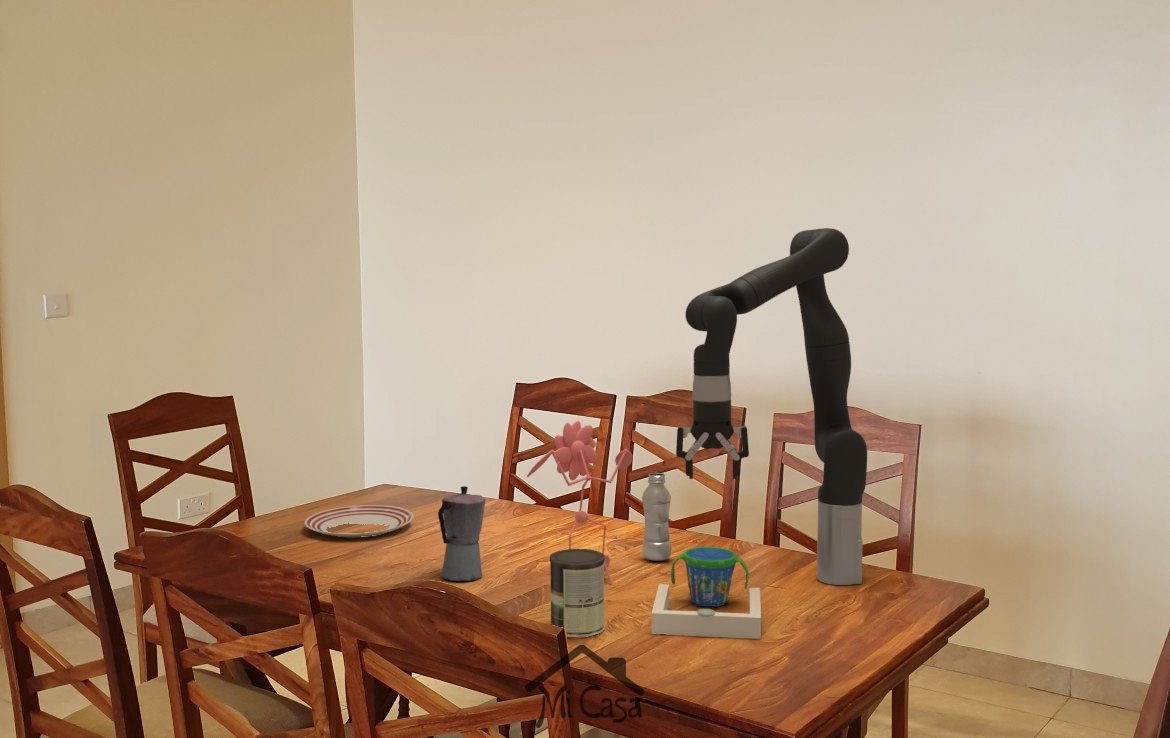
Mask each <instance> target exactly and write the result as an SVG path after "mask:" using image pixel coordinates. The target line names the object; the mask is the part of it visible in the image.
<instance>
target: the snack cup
mask: <svg viewBox="0 0 1170 738" xmlns="http://www.w3.org/2000/svg"><path fill="white" fill-rule="evenodd" d="M680 560H683V561H684V563H685V569H686V576H687V583H688V589H689V598H690V601H692V603H694V604H695V605H697V606H699V607H717V608H718V607H720V606H724V605H725V604H727V603H728V601H729V596H730V591H731V585H732V578H733V574H734V571H735V567H736V564H737V563H740V564H741V567H742V568H743V570H744V571H745V583H744V590H747V587H748V585H749V577H750V575H749V574H750V573H749V568H748V566H747V564H746V562H745V561H744V559H742V558H741V557H739V556H738V555H737V554H736V552H734V551H733V550H730V549H726V548H722V547H718V546H717V547H716V546H700V547H699V546H698V547H691V548H689V549H688V548H687V549H686V550H685V551H684V552H682V553H681V554H679V555H678V556H676V558H674V560H673V562H672V564H671V568H670V581H671V584H672V585H674V586H675V584H676V577H675V575H676V574H675V567H676V566H675V565H676V563H677V562H678V561H680Z"/></svg>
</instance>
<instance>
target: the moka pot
mask: <svg viewBox="0 0 1170 738" xmlns="http://www.w3.org/2000/svg"><path fill="white" fill-rule="evenodd" d="M468 488H469V487H468V486H466V485H465V486H460V492H461V493H458V494H451V495H446V496H445V497H443V498H442V500H441V502H442V504H441V507H440V508H439V509H438V512H437V516H438V520H439V526H440V531H441V537H442V543H444V544H445V553H444V558H443V563H442V569H441V577H442V578H443V579H446V580H449V581H456V582H466V581H475V580H479V579H480V578H482V577H483V571H482V562H481V551H480V543H479V542H480V535H481V532H482V529H483V527H482V526H483V519H484V513H485V507H486V506H485V504H486V498H485V497H483V496H482V495H480V494H471V493H470V494H469V493H468Z"/></svg>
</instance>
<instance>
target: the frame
mask: <svg viewBox="0 0 1170 738" xmlns="http://www.w3.org/2000/svg"><path fill="white" fill-rule="evenodd" d="M669 606H670V584H666V583H658V587H657V592H656V594H655V598H654V603H653V607H652V610H651V615H650V616H651V619H650V620H651V629H650V630H651V631H650V632H651V635H660V634H666V635H665V636H682V635H683V636H685V637H705V638H706V637H709V638H710V637H711V638H728V639H729V638H732V639H750V640H761V639H762V637H761V636H762V613H761V612H762V611H761V610H762V609H761V588H760V587H749V611H748V612H749V613H739V612H737V613H736V612H717V611H715V610H713V609H712V608H711V609H710V608H701V609H698V610H696V611H694V610H693V611H692V610H669Z"/></svg>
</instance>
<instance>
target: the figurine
mask: <svg viewBox="0 0 1170 738" xmlns="http://www.w3.org/2000/svg"><path fill="white" fill-rule="evenodd" d="M593 430H594V429H593V426H592V425H590V424H587V425H583V427H582V424H581V421H580V420H576V421H574V422H573V423H572V425H571V424H570V423H569V422H565V423H564V426H563V429H562V435H559V434H556V435H555V436H554V445H555V448H556V450H554V449H551V450H550V451H548V452H547V453H546V454H545V455H543V456H542V457H541V458H540V459H539V460H537V462H536V463H535V464H534V465H533V467H532V468H531V469H530V470H529V472H528V474H527V475H526V477H527V478H529V477H530V476H531V475H533V474H534V473H535V472H537V471H538V470H539V469H540V468H541V467H542V466H543V464H544V463H546V461H548V460H549V458H550V457H551V456H552V457H553V458H554V461H555V463H556V465H557V467H556V472H557V474H561V475H562V477H563V479H564V480H565V483H566V484H567V486H568V487H569V486H573V485H575V484H578V483H580V482H584V483H583V484H582V486H581V493H580V499H579V500H580V501H579V502H580V503H579V509H578V510H579V511H577V512H576V514H575V515H574V518H575V521H574V523H573V526H572V529H571V530H570V532H569V535H568V549H572V548H571V546H572V545H571V544H572V537H571V536H572V534H573V532H574V530H575V527H576V525H577V523H578V524H580V525H582V524H585V523H587V522H588V521H589V522H591V523H594V524H597V525H599V526H602V527H603V535H602V536H603V537H602V550H601V553H602V554H604V556H605V560H604V572H606V575H607V579H608V582H609V584H610V585H613V584H614V583H613V580H612V577H611V575H610V571H609V565H610V562H611V558H610V557H609V555H608V554H605V544H606V543H605V542H606V529H607V527H606V525H605V524H604V523H601V522H599V521H596V520H593V519H591V518H589V515H588V513H587V512H586V511H584V510H582V507H583V501H584V495H585V487H586V485H587V483H588V482H590V481H591V480H594V481H598V482H602V483H603V482H604V483H609V484H612V482H613V481H614V479H615V477H616V474H617V473H618V471H619V470H621V471H624V470H625V469H626V468H628V467H629V466H630V465H632V462H633V454H632V452H631V451H630V450H628V449H627V448H624V449H623V450H621V451H619V452H618V453H617V455H616V456H615V458H614V462H615V466H616V467H615V469H614V472H613V473H612V476H611V477H610V479H605V478H604V479H603V478H599V477H596V476H595V477H594V476H591V475H590V473H589V470H588V465H589V464H592V465H593V464H596V463H597V462H598V456H597V452H596V451H595V447H596V446H597V441H595V439H594V438H593V437H592V435H593ZM544 465H545V464H544ZM565 473H568V477H569V479H570V480H571V482H569V479H568V478H567V476H566V474H565ZM579 476H580V477H583V478H579V479H577V478H578V477H579ZM584 476H585V477H584ZM576 479H577V480H576ZM544 577H545V578H547V577H551V573H550V574H547V575H545V576H544ZM544 577H541V578H539V579H537V580H535V581H534V583H533V584H532V586H534V585H535V584H536V583H537V582H538V581H540V580H542V579H545V578H544ZM630 577H631V578H632V579H635V577H633V576H630ZM630 577H629V578H630Z"/></svg>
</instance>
